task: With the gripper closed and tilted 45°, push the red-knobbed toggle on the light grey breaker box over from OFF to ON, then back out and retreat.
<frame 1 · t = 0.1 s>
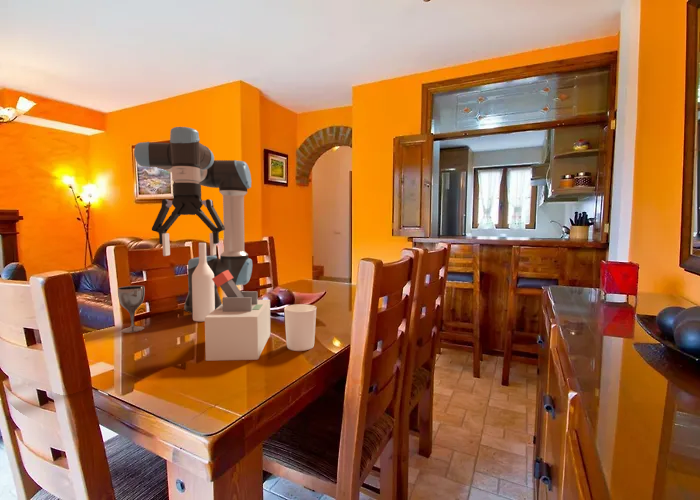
hand: (190, 255, 102), 28 cm above the table, tool pointing down, fingers open, 13 cm apart
wine glass: (132, 330, 120), on the table
toggle: (230, 289, 103), point 18 cm above the table, hinge at 33.0°
bottle: (204, 319, 135), on the table
candle holder: (300, 346, 105), on the table
breaker box: (241, 346, 105), on the table
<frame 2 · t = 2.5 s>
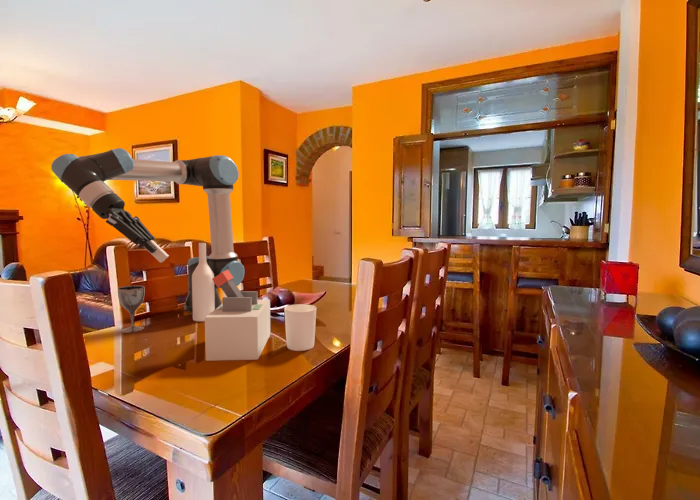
hand: (164, 259, 100), 27 cm above the table, tool tilted 45°, fingers closed
nothing on the table moved.
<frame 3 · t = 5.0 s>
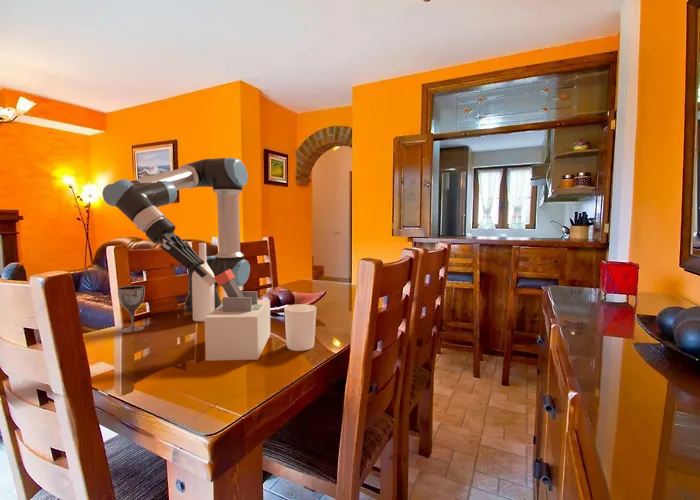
hand: (214, 283, 102), 20 cm above the table, tool tilted 45°, fingers closed
toggle: (231, 288, 103), point 18 cm above the table, hinge at 29.1°, touching gripper
everything else where it was.
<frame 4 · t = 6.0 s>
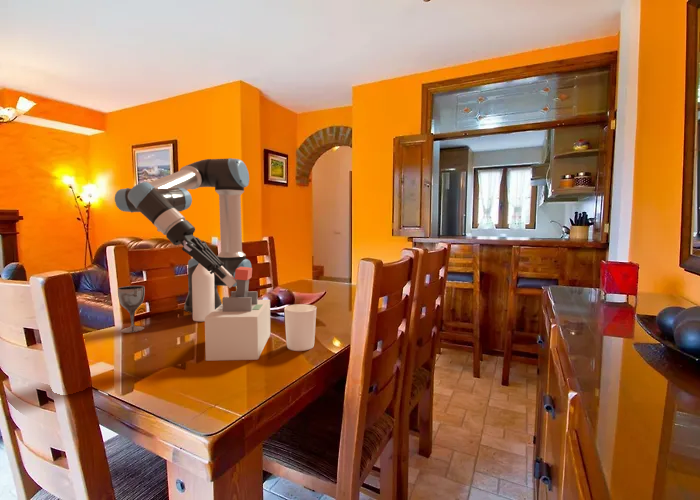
hand: (233, 284, 102), 19 cm above the table, tool tilted 45°, fingers closed
toggle: (242, 286, 104), point 18 cm above the table, hinge at -6.0°, touching gripper
everything else where it was.
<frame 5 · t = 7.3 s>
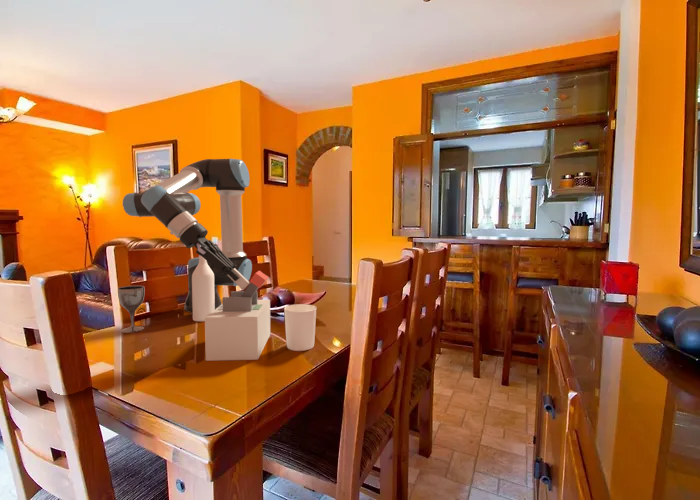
hand: (246, 286, 103), 18 cm above the table, tool tilted 45°, fingers closed
toggle: (251, 289, 104), point 17 cm above the table, hinge at -36.1°, touching gripper
everything else where it was.
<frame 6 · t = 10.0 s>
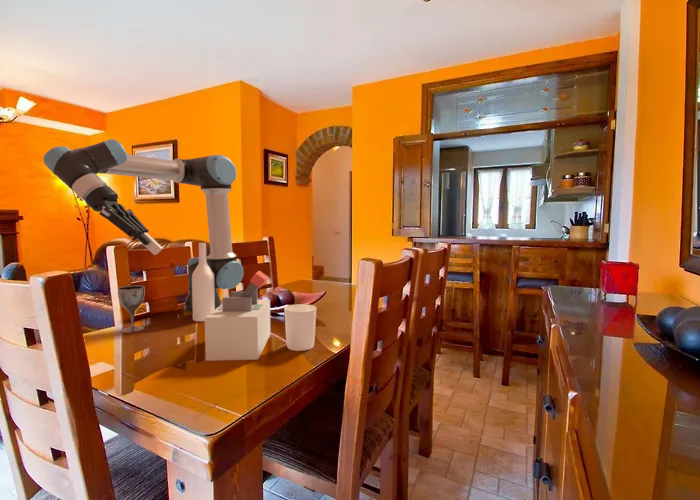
hand: (158, 251, 101), 29 cm above the table, tool tilted 45°, fingers closed
toggle: (251, 289, 104), point 17 cm above the table, hinge at -36.1°
everything else where it was.
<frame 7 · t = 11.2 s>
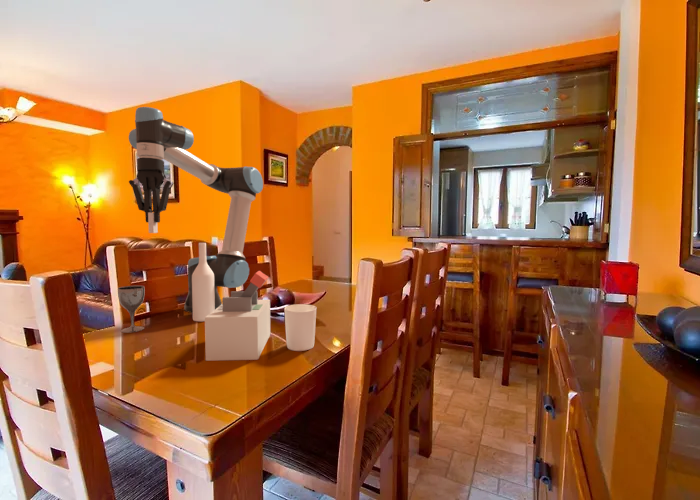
hand: (153, 232, 111), 34 cm above the table, tool pointing down, fingers closed
nothing on the table moved.
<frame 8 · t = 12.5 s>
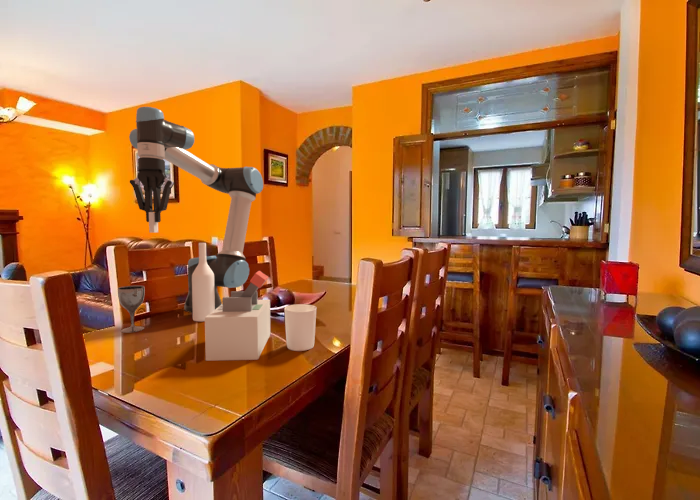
hand: (153, 232, 111), 34 cm above the table, tool pointing down, fingers closed
nothing on the table moved.
at the end: toggle at -36° (first picture: +33°) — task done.
